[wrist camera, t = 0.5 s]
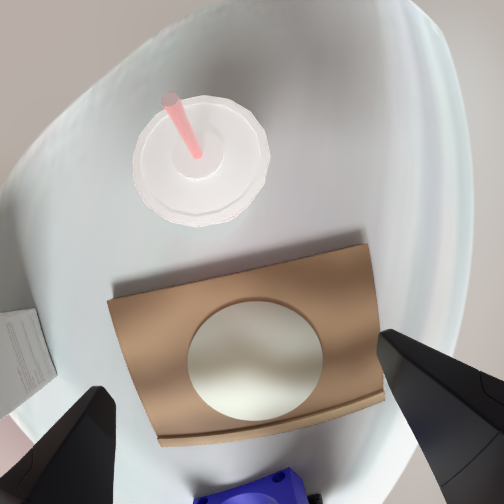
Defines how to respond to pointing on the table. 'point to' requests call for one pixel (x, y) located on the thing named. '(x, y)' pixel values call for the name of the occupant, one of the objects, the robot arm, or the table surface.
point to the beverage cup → (200, 160)
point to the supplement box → (22, 359)
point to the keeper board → (255, 349)
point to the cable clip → (263, 491)
